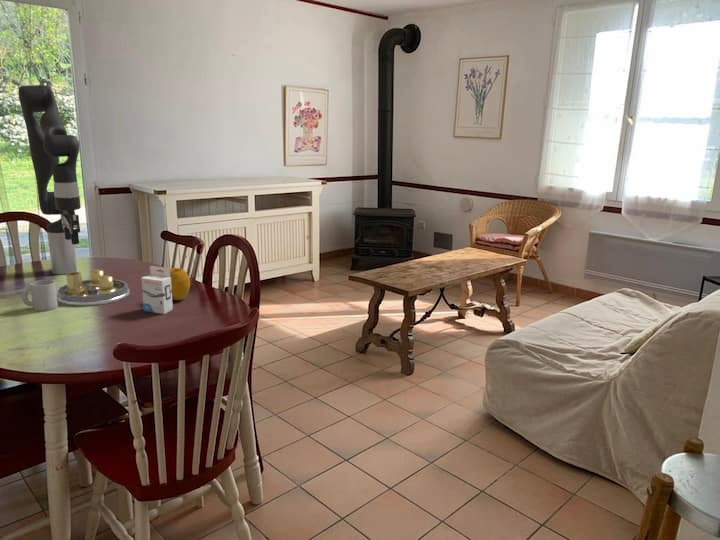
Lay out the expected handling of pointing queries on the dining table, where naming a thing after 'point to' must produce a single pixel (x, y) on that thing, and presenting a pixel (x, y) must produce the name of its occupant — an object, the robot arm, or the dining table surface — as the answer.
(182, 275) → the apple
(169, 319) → the dining table surface
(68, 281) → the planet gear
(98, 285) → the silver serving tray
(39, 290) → the cup
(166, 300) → the ink box
